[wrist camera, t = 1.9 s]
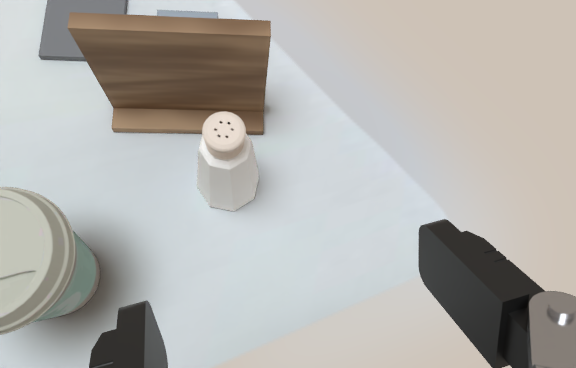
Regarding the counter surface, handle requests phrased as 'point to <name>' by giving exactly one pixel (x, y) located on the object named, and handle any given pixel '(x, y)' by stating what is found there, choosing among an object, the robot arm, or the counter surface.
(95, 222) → the counter surface
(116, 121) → the screen
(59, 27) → the pad
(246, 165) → the pepper shaker
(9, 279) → the coffee cup
